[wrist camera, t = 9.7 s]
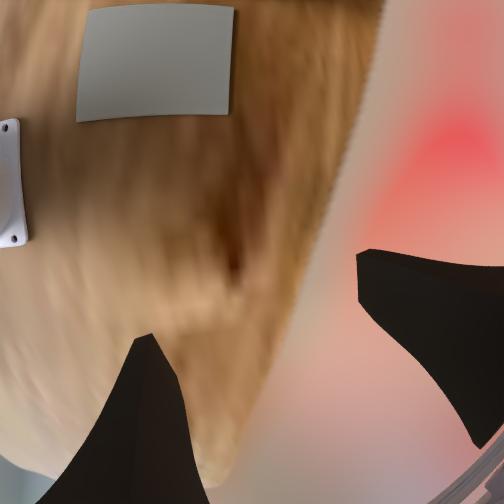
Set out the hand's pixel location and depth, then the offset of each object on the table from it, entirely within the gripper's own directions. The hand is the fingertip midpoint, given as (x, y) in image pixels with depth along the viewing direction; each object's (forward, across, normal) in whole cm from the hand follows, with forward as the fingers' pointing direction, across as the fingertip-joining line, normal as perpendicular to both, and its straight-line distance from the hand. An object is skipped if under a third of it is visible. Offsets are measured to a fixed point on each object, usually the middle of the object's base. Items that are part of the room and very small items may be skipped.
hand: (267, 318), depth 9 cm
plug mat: (+10, 0, -11) cm, 15 cm away
